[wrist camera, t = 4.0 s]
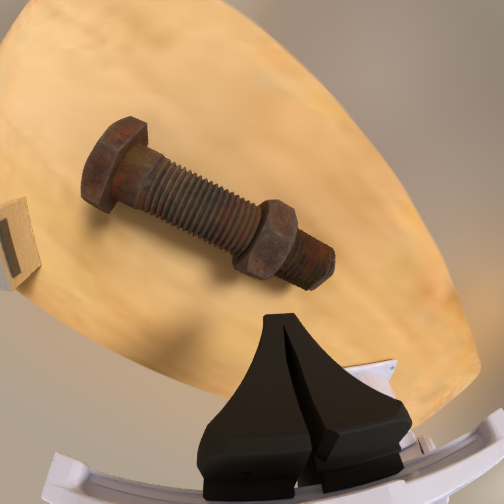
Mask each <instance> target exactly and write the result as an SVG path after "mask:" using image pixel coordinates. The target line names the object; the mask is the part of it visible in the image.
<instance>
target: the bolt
mask: <svg viewBox="0 0 504 504" xmlns="http://www.w3.org/2000/svg"><path fill="white" fill-rule="evenodd" d="M147 145H148V131H147V123H146V122H143V121H141V120H139V119H137V118H134V117H132V116H129V117H126V118H123V119H120V120H118V121H116V122H115V123H113V124H112V125H110V126H109V127H108V128H107V130H106V131H105V132H104V134H103V135H102V136H101V138H100V139H99V140H98V142H97V143H96V145H95V146H94V148H93V150H92V152H91V153H90V155H89V157H88V159H87V161H86V163H85V166H84V169H83V173H82V180H81V197H82V198H83V199H84V200H85V201H86V202H88V203H89V204H91V205H92V206H94V207H96V208H98V209H100V210H102V211H104V212H105V213H107V214H109V213H110V212H111V210H112V209H113V208H114V206H115V205H116V203H117V202H118V201H120V202H122V203H124V204H126V205H128V206H130V207H132V208H134V209H140V210H144V211H145V212H146V213H147V212H150V215H154V214H156V215H155V217H156V218H158V217H160V216H161V220H162V221H163V220H164V219H166V223H169V222H171V226H174V225H176V224H177V228H178V229H179V228H182V229H183V232H184V231H186V230H188V234H190V233H192V232H193V236H196V235H198V239H200V238H202V237H203V239H204V242H205V241H207V240H209V244H211V243H214V246H215V247H216V246H218V245H219V247H220V249H223V248H225V252H227V251H230V254H231V255H232V254H233V258H232V263H233V267H234V269H236V270H238V271H240V272H242V273H244V274H246V275H248V276H251V277H253V278H257V279H260V280H266V279H268V278H269V277H271V276H272V275H273V274H274V275H275V276H278V277H279V278H281V279H282V278H283V280H285V281H288V282H290V283H292V284H293V285H296V286H298V287H300V288H302V289H304V290H305V291H307V290H310V291H312V290H315V289H316V288H317V287H318V286H320V285H321V284H322V283H323V282H325V281H326V280H327V279H328V278H329V277H331V276H332V275H333V273H334V270H335V252H334V250H333V248H332V247H329V246H328V245H326V244H324V243H323V242H321V241H319V240H317V239H316V238H315V237H312V236H311V235H308V234H307V233H305V232H303V231H302V230H299V228H298V221H297V217H296V214H295V210H294V209H293V208H292V207H290V206H288V205H287V204H285V203H283V202H281V201H280V200H266V201H264V202H263V203H261V204H260V205H259V206H256V207H255V204H254V203H252V204H250V201H249V200H248V201H245V199H244V198H241V199H240V197H239V195H236V196H234V193H233V192H231V193H229V191H228V189H226V190H224V189H223V187H222V186H221V187H220V188H218V184H215V185H213V181H210V182H209V183H208V180H207V178H206V179H204V180H202V176H199V177H198V178H197V173H194V174H192V172H191V170H189V171H188V172H186V168H185V167H184V168H183V169H182V170H181V165H178V166H177V167H176V163H175V162H173V163H172V164H171V161H170V160H169V159H167V158H165V157H164V155H163V154H161V153H159V152H157V151H155V150H152V149H150V148H148V147H147Z"/></svg>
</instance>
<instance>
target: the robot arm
mask: <svg viewBox="0 0 504 504" xmlns="http://www.w3.org/2000/svg"><path fill="white" fill-rule="evenodd" d="M396 365H397V361H396V360H395V359H393V360H388V361H383V362H377V363H372V364H366V365H360V366H353V367H347V368H342V367H341V366H340V365H339V364H337V363H336V362H335V361H334V360H333V359H332V358H331V357H330V356H329V355H328V354H327V353H326V352H325V351H324V350H323V349H322V348H321V347H320V346H319V345H318V343H317V342H316V341H315V340H314V339H313V338H312V336H311V335H310V334H309V333H308V331H307V330H306V329H305V328H304V326H303V325H302V323H301V322H300V321H299V319H298V318H297V316H296V315H295V314H294V313H285V314H266V315H265V316H263V330H262V335H261V338H260V342H259V345H258V348H257V351H256V353H255V356H254V358H253V361H252V363H251V365H250V367H249V369H248V371H247V373H246V375H245V377H244V379H243V380H242V382H241V384H240V385H239V387H238V389H237V390H236V392H235V393H234V394H233V396H232V397H231V398H230V400H229V401H228V402H227V404H226V405H225V406H224V408H223V409H222V410H221V411H220V412H219V413H218V414H217V415H216V416H215V418H214V419H213V420H212V421H211V422H210V423H209V424H208V425H207V427H206V429H205V432H204V434H203V436H202V439H201V442H200V444H199V448H198V452H197V467H198V469H199V471H200V472H201V474H202V476H203V478H204V484H203V490H192V489H182V488H173V487H166V486H160V485H154V484H148V483H143V482H138V481H133V480H129V479H124V478H120V477H116V476H112V475H109V474H105V473H102V472H98V471H95V470H92V469H90V468H89V466H87V465H86V464H85V463H83V462H82V461H80V460H78V459H75V458H72V457H69V456H67V455H64V454H62V453H59V452H56V453H55V455H54V458H53V460H52V463H51V466H50V469H49V472H48V475H47V478H46V481H45V485H44V488H43V491H42V495H41V498H42V499H43V500H45V501H47V502H49V503H50V504H448V502H449V496H450V495H451V494H453V493H454V492H456V491H458V490H459V489H461V488H463V487H464V486H466V485H468V484H469V483H471V482H472V481H474V480H475V479H477V478H478V477H479V476H481V475H483V474H484V473H485V472H487V471H488V470H490V469H491V468H492V467H494V466H495V465H496V464H497V463H499V462H500V461H501V460H502V459H503V458H504V411H503V410H502V408H499V409H498V410H496V411H495V412H493V413H491V414H490V415H488V416H487V417H486V418H485V419H483V420H482V421H481V422H480V424H479V425H478V426H477V428H475V429H473V430H472V431H470V432H468V433H466V434H464V435H462V436H461V437H459V438H457V439H455V440H453V441H451V442H449V443H447V444H445V445H443V446H441V447H438V448H435V445H434V443H433V442H432V440H431V438H430V437H426V436H423V435H421V436H420V437H418V438H417V439H418V442H419V445H420V447H419V445H418V443H417V441H416V438H415V436H414V433H413V432H411V430H410V428H411V426H412V420H411V418H410V416H409V414H408V412H407V410H406V408H405V406H404V405H403V403H402V402H401V401H399V400H397V399H396V397H395V395H394V392H393V390H392V388H391V386H390V384H389V380H390V378H391V376H392V374H393V372H394V370H395V367H396ZM296 482H298V488H294V486H295V484H296Z"/></svg>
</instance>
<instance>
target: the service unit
mask: <svg viewBox="0 0 504 504" xmlns="http://www.w3.org/2000/svg"><path fill="white" fill-rule="evenodd" d="M40 265H41V261H40V258H39V254H38V251H37V247H36V243H35V239H34V235H33V231H32V227H31V222H30V217H29V212H28V207H27V202H26V197H22V198H18V199H13V200H10V201H8V202H6V203H4V204H2V205H0V290H5V291H13V290H14V289H15V288H16V287H18V286H19V285H20V284H21V283H22V282H23V281H25V280H26V279H27V278H28V277H29V276H30V274H31V273H32V272H34V271H35V270H36V269H37V268H38V267H39V266H40Z"/></svg>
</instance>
